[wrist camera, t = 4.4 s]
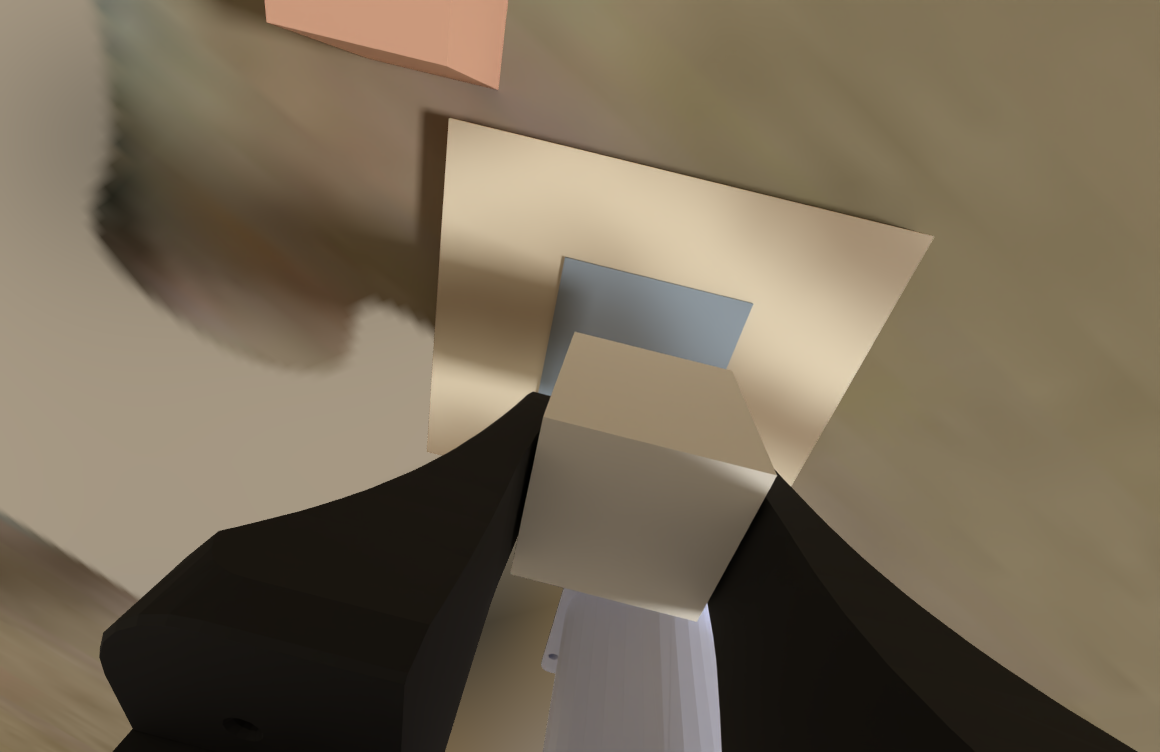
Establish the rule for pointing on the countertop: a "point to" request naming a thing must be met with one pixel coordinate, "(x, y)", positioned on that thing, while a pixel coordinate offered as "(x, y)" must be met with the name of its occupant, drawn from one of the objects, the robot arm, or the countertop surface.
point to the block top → (406, 32)
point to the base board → (648, 284)
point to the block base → (641, 478)
